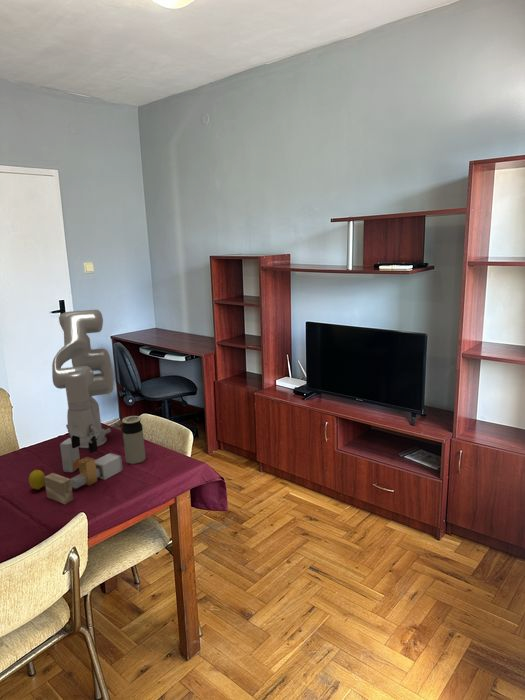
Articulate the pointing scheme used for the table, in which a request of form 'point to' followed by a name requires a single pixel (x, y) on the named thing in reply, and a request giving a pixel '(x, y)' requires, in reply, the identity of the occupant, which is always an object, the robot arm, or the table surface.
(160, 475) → the table surface
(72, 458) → the skincare box
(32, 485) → the lemon
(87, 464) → the multicoloured angled piece
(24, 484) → the table surface
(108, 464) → the sleeve
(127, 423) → the travel mug
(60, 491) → the socket block
